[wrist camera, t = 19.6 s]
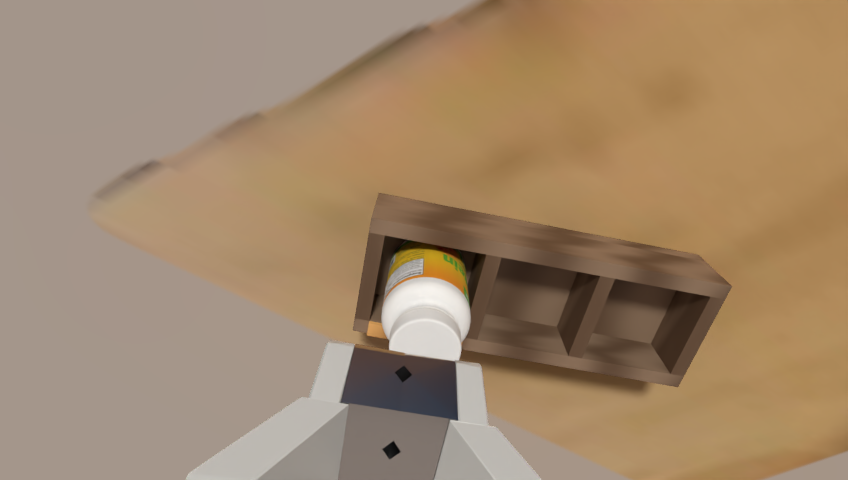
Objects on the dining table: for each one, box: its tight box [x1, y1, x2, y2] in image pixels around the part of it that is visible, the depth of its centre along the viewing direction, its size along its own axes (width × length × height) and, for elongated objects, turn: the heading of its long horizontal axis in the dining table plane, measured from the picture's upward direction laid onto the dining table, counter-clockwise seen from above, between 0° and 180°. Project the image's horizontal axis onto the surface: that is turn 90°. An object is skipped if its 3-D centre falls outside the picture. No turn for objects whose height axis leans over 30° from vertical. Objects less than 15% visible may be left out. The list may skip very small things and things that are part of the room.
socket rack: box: [353, 193, 732, 387], centre depth 35 cm, size 24×9×5 cm, turn 79°
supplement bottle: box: [381, 240, 471, 361], centre depth 31 cm, size 5×5×10 cm
